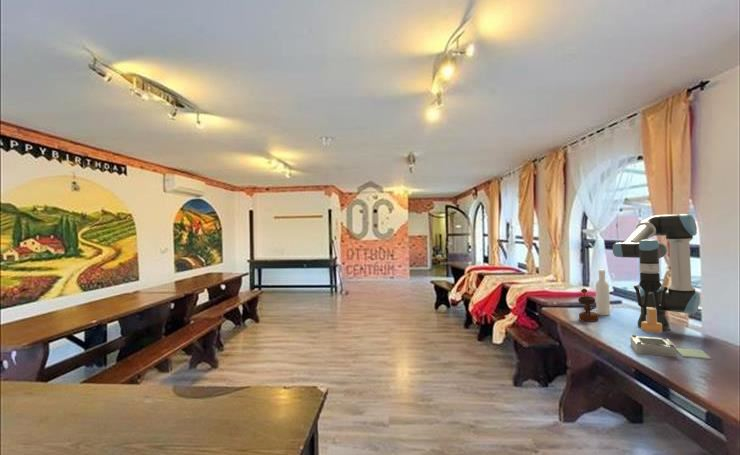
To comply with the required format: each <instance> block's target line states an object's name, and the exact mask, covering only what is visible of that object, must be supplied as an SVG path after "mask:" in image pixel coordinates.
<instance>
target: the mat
mask: <svg viewBox="0 0 740 455" xmlns="http://www.w3.org/2000/svg"><path fill="white" fill-rule="evenodd" d="M676 351H677V353H678V354H679V355H680V356H681V357H682V358H691V359H700V360H701V359H703V360H712V357H710V356H709V355H708V354H707V353H706V352H705V351H703V350H702V349H692V348H691V349H690V348H679V347H676Z"/></svg>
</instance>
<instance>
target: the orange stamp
mask: <svg viewBox="0 0 740 455" xmlns="http://www.w3.org/2000/svg"><path fill="white" fill-rule="evenodd" d="M647 308H648V309H649V322H646V321H643V322H641V328H640V329H641V331H643V332H647V333H654V334H658V333H659V334H660V333H663V330H662V324H661V323H658V322H657V323H656V310H655V309H654V308H653V307H647Z"/></svg>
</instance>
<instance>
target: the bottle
mask: <svg viewBox="0 0 740 455" xmlns="http://www.w3.org/2000/svg"><path fill="white" fill-rule="evenodd" d="M595 303H596V308H595V311H596V312H595V313H597V314H599V315H598V316H603V315H608V316H610V315H611V310H610V309H611V307H610V306H611V303H610V284H609V282H608V281H607V280H606V269H600V268H599V269H598V280H597V281H596V283H595Z"/></svg>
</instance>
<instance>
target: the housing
mask: <svg viewBox="0 0 740 455" xmlns="http://www.w3.org/2000/svg"><path fill="white" fill-rule="evenodd" d="M629 336H630V337H629V338H630V346H631V347H632V349H633V351H635V353H636V355H648V356H658V357H669V358H677V357H678V356H677V353H678V352H677V351H676V348H677V346H676V345H674V343H673V342H672V341H671V340H670V339H669V338H667V337H665V336H662V337H656V336H655V337H654V336H653V337H652V336H638V335H636V334H632V335H629Z"/></svg>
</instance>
